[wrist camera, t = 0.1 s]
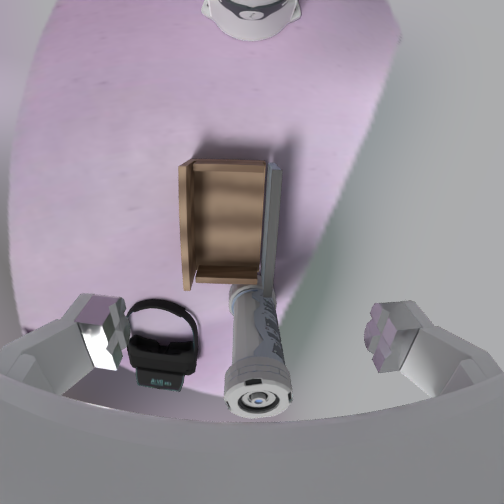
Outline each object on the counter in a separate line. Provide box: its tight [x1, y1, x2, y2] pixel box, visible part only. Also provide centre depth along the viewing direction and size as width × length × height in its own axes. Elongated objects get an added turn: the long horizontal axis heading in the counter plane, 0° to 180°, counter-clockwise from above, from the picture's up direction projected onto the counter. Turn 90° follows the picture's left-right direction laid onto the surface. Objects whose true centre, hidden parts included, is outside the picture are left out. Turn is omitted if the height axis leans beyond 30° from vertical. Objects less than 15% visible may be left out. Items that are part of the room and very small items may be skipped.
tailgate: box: [261, 163, 283, 298], centre depth 50 cm, size 22×2×9 cm, turn 177°
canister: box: [224, 275, 293, 419], centre depth 51 cm, size 10×10×30 cm
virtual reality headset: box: [126, 299, 198, 392], centre depth 65 cm, size 19×22×10 cm
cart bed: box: [178, 159, 266, 291], centre depth 52 cm, size 22×14×11 cm, turn 177°
